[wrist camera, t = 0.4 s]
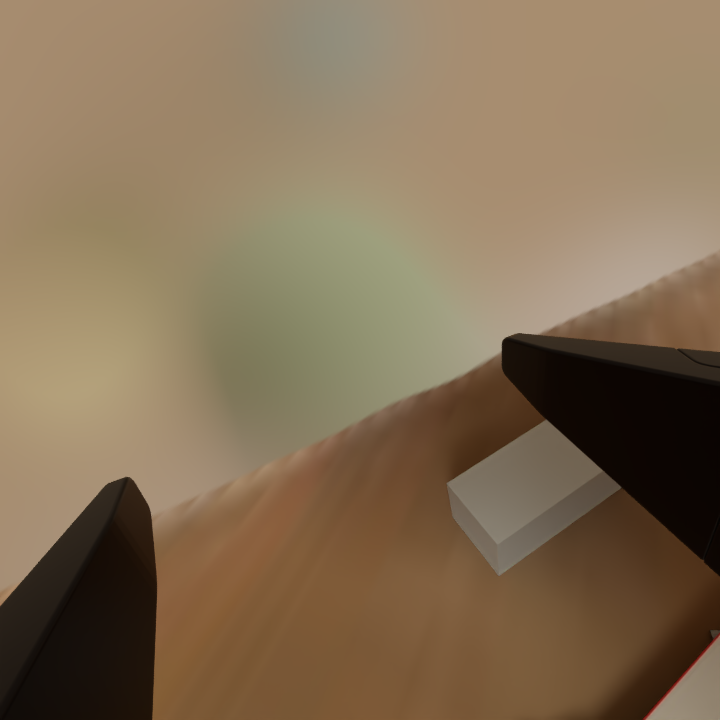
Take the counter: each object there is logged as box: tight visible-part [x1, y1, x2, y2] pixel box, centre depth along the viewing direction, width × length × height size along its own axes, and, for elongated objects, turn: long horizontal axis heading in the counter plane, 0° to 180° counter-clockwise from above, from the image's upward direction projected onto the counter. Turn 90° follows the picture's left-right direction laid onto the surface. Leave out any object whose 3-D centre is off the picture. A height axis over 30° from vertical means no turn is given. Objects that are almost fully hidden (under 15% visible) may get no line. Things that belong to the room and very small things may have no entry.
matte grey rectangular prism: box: [447, 420, 622, 576], centre depth 23 cm, size 4×9×4 cm, turn 118°
